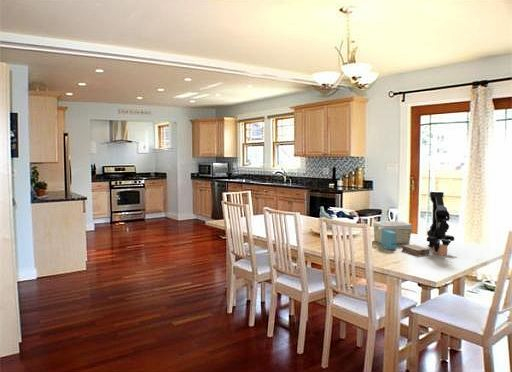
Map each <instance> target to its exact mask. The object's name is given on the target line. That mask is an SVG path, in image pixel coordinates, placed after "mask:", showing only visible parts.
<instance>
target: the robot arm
mask: <svg viewBox="0 0 512 372" xmlns="http://www.w3.org/2000/svg"><path fill="white" fill-rule="evenodd" d="M429 198H430V199H429V200H430V201H431V203H432V221H431V222H432V223H431V224H430V226H429V230H427V232H426V234H427V237H426V242H429V243H428V244H427V247H432V248H433V246H434V249H435V252H437V251H438V248H439V244H444V245H447V247H448V246H449V245H450V244H451V243H452V242H453V241H455V236H454V235H449V234H446V233H448V230H449V229H450V225H449V224H448V222H449V221H450V219H451V218H450V217H451V216H450V212H449V211H448V209H447V207H446V206H445V203H444V198H445V197H444V192H443V191H442V190H431V191H430V192H429Z"/></svg>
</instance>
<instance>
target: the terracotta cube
mask: <svg viewBox="0 0 512 372" xmlns="http://www.w3.org/2000/svg"><path fill="white" fill-rule="evenodd" d="M432 253H433V254H434V255H439V256H446V255H448V246H447V245H444V244H443V243H440V244H439V248H438V251H437V252H435V249H434V246H433V247H432Z"/></svg>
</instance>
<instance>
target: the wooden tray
mask: <svg viewBox="0 0 512 372" xmlns="http://www.w3.org/2000/svg"><path fill="white" fill-rule="evenodd" d="M401 248H402V249H401V250H402V252H404V253H408V254H411V255H413V256H416V257H420V256H419V255H421V256H427V255H430V248H427V247H424V246H421V245H417V244H407V245H404V244H403V245H402V246H401Z"/></svg>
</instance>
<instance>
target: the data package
mask: <svg viewBox="0 0 512 372" xmlns="http://www.w3.org/2000/svg"><path fill="white" fill-rule="evenodd" d="M380 245H381V247H382V248H384V249H387V250H389V251H391V250H393V251H394V250H397V234H396V232H393V231H390V230H382V237H381V243H380Z"/></svg>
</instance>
